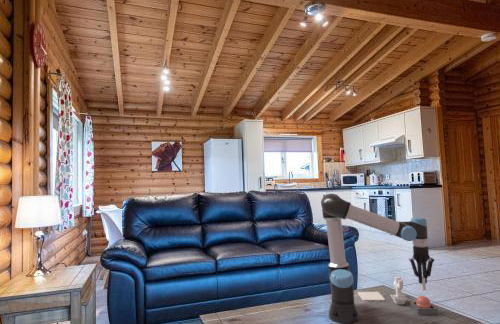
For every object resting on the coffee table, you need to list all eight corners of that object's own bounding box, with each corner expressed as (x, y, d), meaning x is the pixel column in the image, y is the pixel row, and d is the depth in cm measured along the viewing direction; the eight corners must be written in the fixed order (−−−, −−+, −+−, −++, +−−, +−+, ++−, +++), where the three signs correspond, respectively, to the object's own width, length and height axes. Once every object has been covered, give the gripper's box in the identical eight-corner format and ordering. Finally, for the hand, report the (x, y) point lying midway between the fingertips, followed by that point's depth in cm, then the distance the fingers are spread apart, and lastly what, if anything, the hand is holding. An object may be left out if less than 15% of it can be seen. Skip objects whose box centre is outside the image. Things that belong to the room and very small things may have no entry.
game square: (363, 300, 194) (363, 299, 194) (357, 292, 207) (357, 291, 207) (385, 300, 193) (385, 299, 193) (378, 292, 206) (378, 291, 206)
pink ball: (420, 311, 175) (419, 298, 175) (414, 306, 182) (413, 293, 182) (433, 311, 174) (432, 298, 174) (427, 306, 181) (426, 293, 181)
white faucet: (401, 299, 194) (400, 274, 194) (408, 306, 184) (407, 279, 185) (389, 299, 194) (388, 274, 195) (396, 306, 185) (394, 279, 185)
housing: (418, 314, 173) (418, 308, 173) (410, 307, 183) (410, 301, 183) (437, 314, 172) (437, 308, 173) (428, 307, 182) (428, 301, 183)
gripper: (411, 247, 176) (414, 291, 175) (436, 247, 175) (439, 291, 174) (405, 244, 183) (408, 287, 182) (429, 244, 183) (432, 286, 182)
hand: (423, 289), depth 178 cm, fingers closed
